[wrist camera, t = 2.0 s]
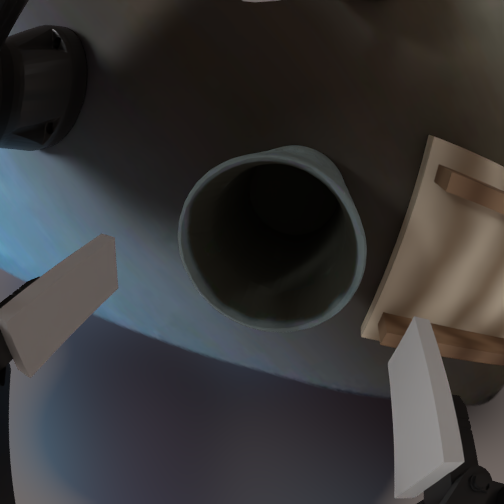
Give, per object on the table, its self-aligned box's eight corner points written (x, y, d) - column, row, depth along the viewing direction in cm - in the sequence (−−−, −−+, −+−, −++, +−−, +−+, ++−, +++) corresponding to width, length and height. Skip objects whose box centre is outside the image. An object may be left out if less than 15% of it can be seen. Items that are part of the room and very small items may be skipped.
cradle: (360, 327, 31) (362, 357, 27) (428, 134, 21) (447, 140, 17) (498, 354, 28) (509, 379, 24) (572, 207, 19) (596, 223, 15)
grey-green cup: (321, 263, 29) (312, 355, 18) (221, 219, 29) (160, 288, 19) (372, 165, 24) (404, 211, 13) (258, 115, 24) (204, 124, 14)
